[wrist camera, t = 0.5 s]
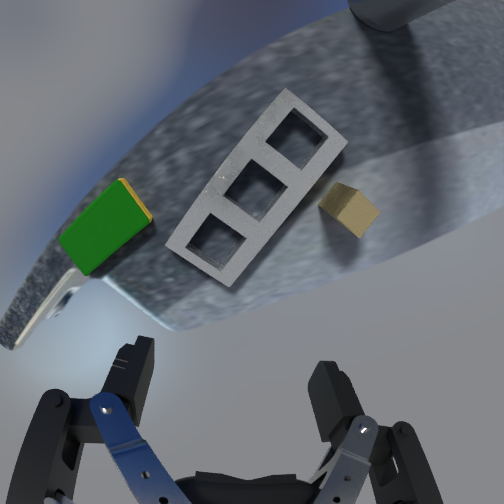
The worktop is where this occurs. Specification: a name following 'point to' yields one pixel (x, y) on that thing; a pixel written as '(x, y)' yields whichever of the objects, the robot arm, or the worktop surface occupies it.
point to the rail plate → (279, 207)
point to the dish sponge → (105, 226)
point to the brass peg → (349, 208)
